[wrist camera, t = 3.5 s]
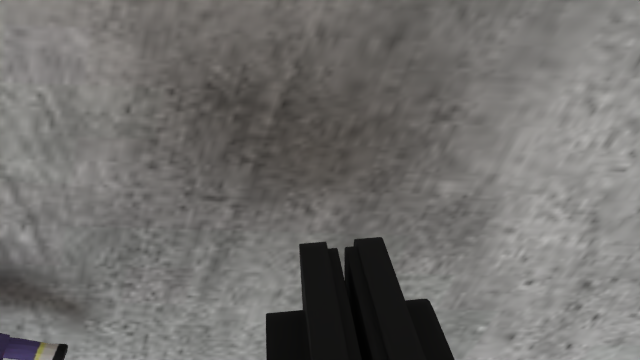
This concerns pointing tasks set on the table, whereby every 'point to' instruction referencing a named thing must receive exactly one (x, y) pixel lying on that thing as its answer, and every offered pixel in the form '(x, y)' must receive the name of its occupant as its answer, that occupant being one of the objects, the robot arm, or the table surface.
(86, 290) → the table surface
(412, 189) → the table surface
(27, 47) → the table surface
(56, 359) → the figurine
